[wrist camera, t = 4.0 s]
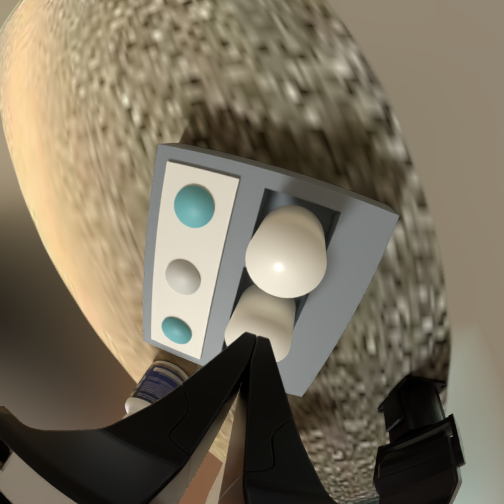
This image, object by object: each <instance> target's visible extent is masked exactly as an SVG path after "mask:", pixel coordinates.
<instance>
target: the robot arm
mask: <svg viewBox="0 0 504 504" xmlns="http://www.w3.org/2000/svg"><path fill="white" fill-rule="evenodd" d="M256 337H257V338H256ZM241 383H242V384H241ZM240 386H241V387H240ZM445 387H446V383H445V382H444V381H438V380H431V379H425V378H419V377H413V376H408V377H406V378H405V379H404V380H403V381H402V382H401V383H400V385H399V386H398V387H397V388H396V389H395V390H394V391H393V392H392V393H391V395H390V396H389V397H388V398H387V399H386V400H385V401H384V402H383V403H382V404H381V405H380V406H379V407H378V412H380V413H384V417H385V426H386V431H387V432H389V439H390V444H387V445H382V446H379V447H378V453H377V457H376V464H375V471H374V477H373V486H375V488H376V491H377V493H378V495H379V496H380V500H379V504H453V502H454V500H455V498H456V495H457V493H458V490H459V489H460V486H461V484H462V478H461V472H460V467H461V466H463V465H465V464H466V462H465V456H464V449H463V443H462V439H461V435H460V431H459V428H458V425H457V423H456V420H455V417H454V415H453V414H451V415H449V417H447V418H446V417H445V414H444V410H443V407H442V403H441V400H440V397H439V393H440V392H441V391H442V390H443V389H444V388H445ZM239 389H240V390H239ZM238 392H239V394H238ZM237 394H238V398H237V404H236V409H235V415H234V420H233V426H232V431H231V437H230V442H229V447H228V453H227V458H226V463H225V469H224V474H223V479H222V484H221V490H220V495H219V500H218V504H338V503H336V502H335V501H334V500H333V499H332V498H331V497H330V496H329V494H328V493H327V492H326V490H325V488H324V487H323V485H322V483H321V481H320V479H319V477H318V475H317V473H316V471H315V469H314V467H313V465H312V463H311V461H310V459H309V457H308V455H307V452H306V450H305V448H304V446H303V443H302V441H301V438H300V435H299V433H298V430H297V427H296V423H295V420H294V418H293V414H292V411H291V408H290V404H289V401H288V398H287V395H286V392H285V388H284V385H283V382H282V378H281V375H280V372H279V369H278V365H277V362H276V359H275V356H274V352H273V349H272V346H271V342H270V339H269V338H266V337H263V336H257V335H256V334H253V333H250V332H244V333H243V334H242V335H240V336H239V337H238V338H237V339H236V340H235V341H233V342H232V343H231V344H230V345H229V346H227V347H226V348H225V349H224V350H223V351H221V352H220V353H219V354H218V355H216V356H215V357H214V358H213V359H212V360H210V361H209V362H208V363H207V364H205V365H204V366H203V367H202V368H200V369H199V370H198V371H197V372H195V373H194V374H193V375H192V376H190V377H189V378H188V379H187V380H185V381H184V382H183V383H182V385H181V384H180V385H179V386H177V387H176V388H175V389H173V390H172V391H171V392H169V393H168V394H166V395H165V396H164V397H162V398H161V399H159V400H157V401H156V402H154V403H152V404H150V405H149V406H147V407H145V408H143V409H141V410H139V411H138V412H136V413H134V414H132V415H130V416H128V417H126V418H124V419H122V420H120V421H118V422H116V423H113V424H111V425H109V426H106V427H102V428H97V429H86V430H40V429H35V428H31V427H29V426H26V425H25V424H23V423H22V422H20V421H19V420H18V419H17V418H16V417H15V416H14V415H13V414H12V413H11V412H10V411H9V410H8V409H7V408H5V406H0V504H178V503H179V501H180V499H181V498H182V496H183V495H184V493H185V491H186V489H187V488H188V486H189V484H190V482H191V481H192V479H193V477H194V476H195V474H196V472H197V470H198V468H199V467H200V465H201V463H202V461H203V459H204V458H205V456H206V454H207V452H208V450H209V449H210V447H211V445H212V443H213V441H214V439H215V437H216V435H217V434H218V432H219V430H220V428H221V426H222V424H223V422H224V420H225V418H226V416H227V414H228V412H229V410H230V408H231V406H232V404H233V402H234V400H235V398H236V396H237ZM452 435H453V436H452ZM450 436H452V437H450Z"/></svg>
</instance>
